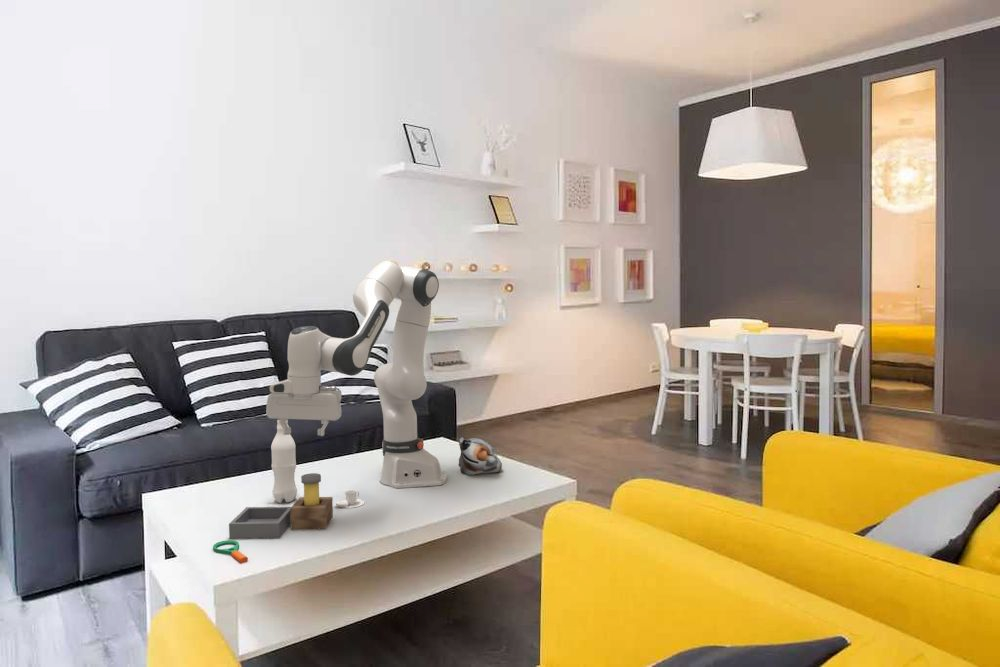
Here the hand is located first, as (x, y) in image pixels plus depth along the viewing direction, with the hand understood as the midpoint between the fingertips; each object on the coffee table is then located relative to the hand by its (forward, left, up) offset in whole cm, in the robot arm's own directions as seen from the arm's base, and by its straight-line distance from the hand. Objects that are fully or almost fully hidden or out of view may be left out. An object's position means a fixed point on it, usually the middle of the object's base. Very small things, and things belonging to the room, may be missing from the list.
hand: (304, 435), depth 190 cm
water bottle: (+12, -19, -25) cm, 33 cm away
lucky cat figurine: (-48, -47, -25) cm, 72 cm away
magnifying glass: (+13, +21, -25) cm, 35 cm away
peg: (-2, +1, -25) cm, 25 cm away
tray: (+11, +5, -25) cm, 27 cm away
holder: (-2, +1, -25) cm, 25 cm away
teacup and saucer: (-6, -16, -25) cm, 30 cm away
